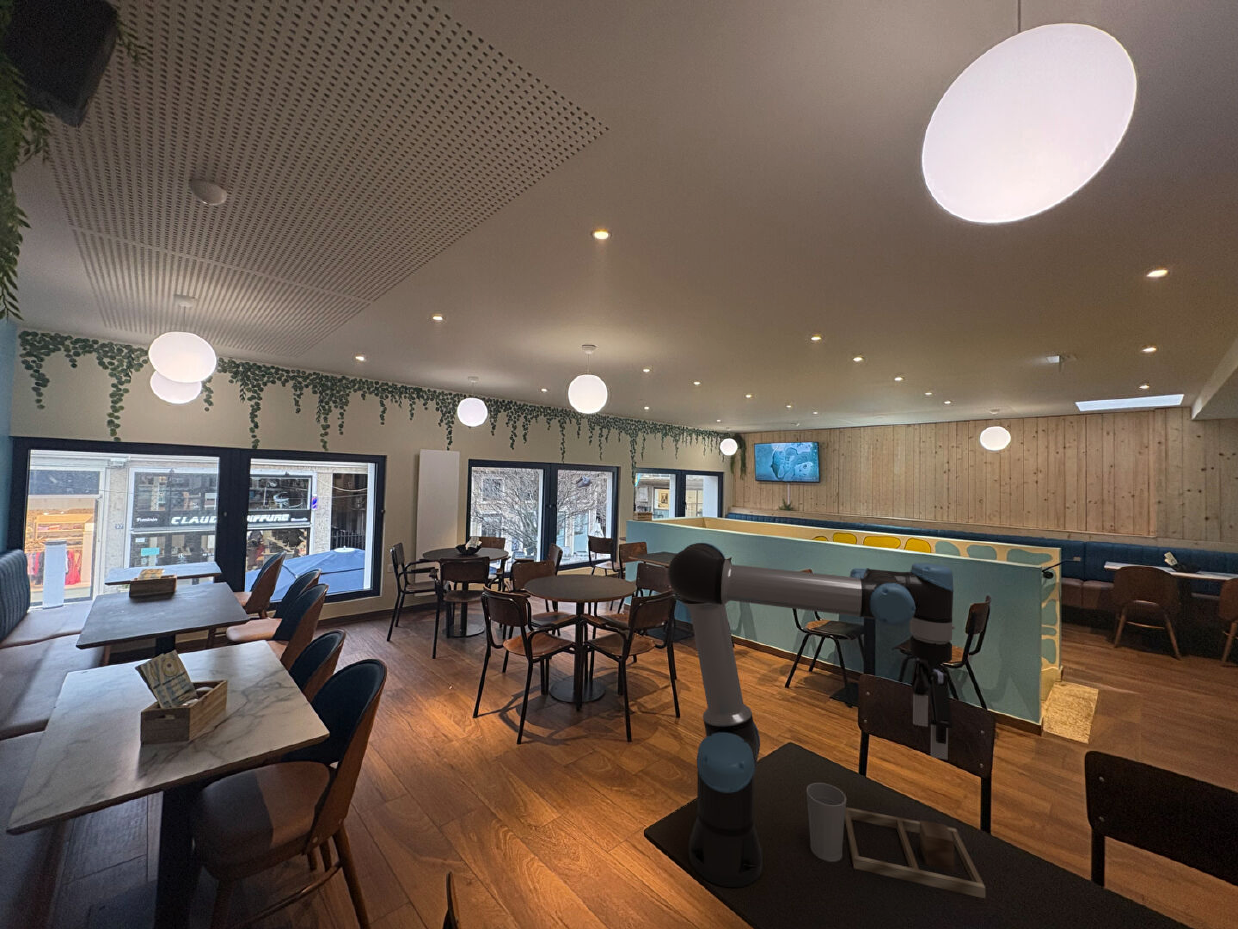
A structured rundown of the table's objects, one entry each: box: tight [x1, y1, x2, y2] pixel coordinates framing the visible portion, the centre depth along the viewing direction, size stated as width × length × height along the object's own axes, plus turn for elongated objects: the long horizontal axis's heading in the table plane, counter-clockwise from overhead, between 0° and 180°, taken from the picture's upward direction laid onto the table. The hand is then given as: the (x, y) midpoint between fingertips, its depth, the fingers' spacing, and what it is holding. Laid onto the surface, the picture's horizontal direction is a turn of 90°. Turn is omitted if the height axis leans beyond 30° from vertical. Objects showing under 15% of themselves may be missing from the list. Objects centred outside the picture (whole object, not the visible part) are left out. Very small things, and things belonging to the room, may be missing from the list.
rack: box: [844, 806, 986, 899], centre depth 107 cm, size 23×17×2 cm
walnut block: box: [919, 819, 955, 872], centre depth 105 cm, size 5×5×6 cm
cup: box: [806, 782, 847, 863], centre depth 107 cm, size 8×8×12 cm
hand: (929, 740), depth 104 cm, fingers open, 13 cm apart
